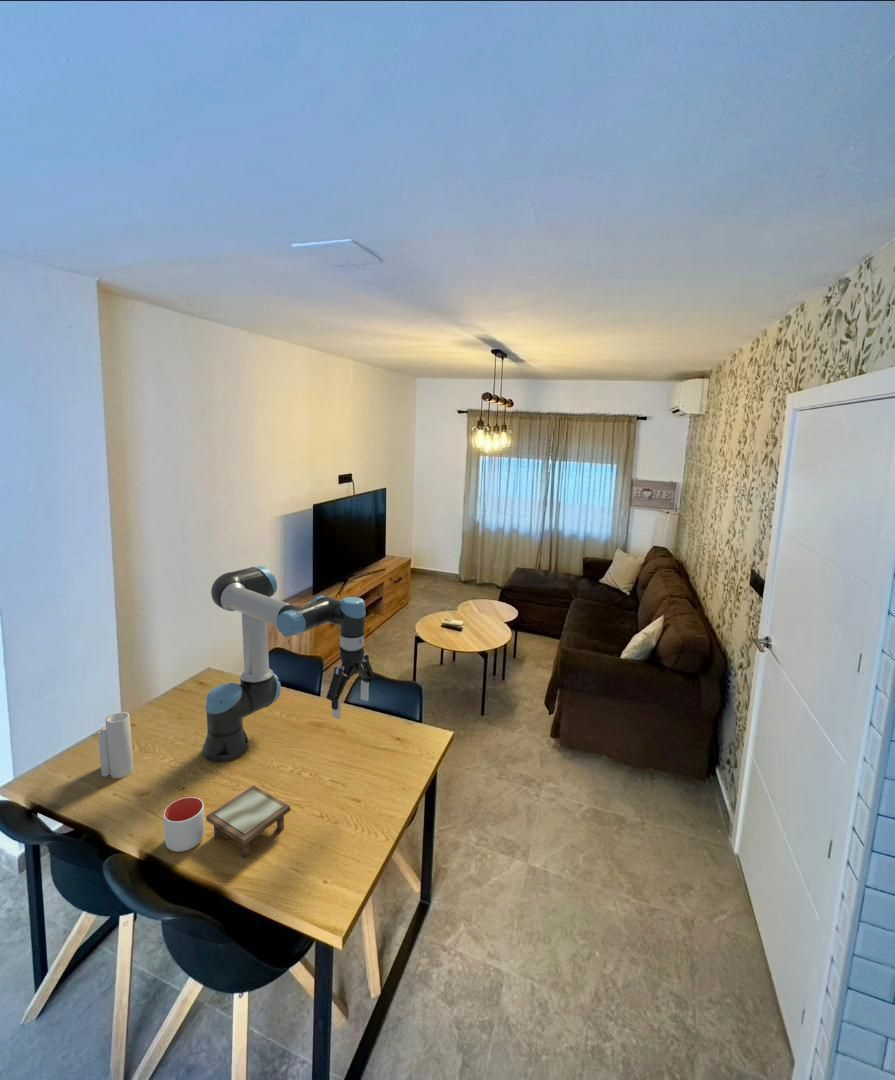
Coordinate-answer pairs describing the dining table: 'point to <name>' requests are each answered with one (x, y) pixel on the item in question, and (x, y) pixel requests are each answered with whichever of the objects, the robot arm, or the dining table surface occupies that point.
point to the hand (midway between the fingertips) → (350, 708)
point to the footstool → (248, 816)
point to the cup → (184, 824)
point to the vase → (116, 746)
